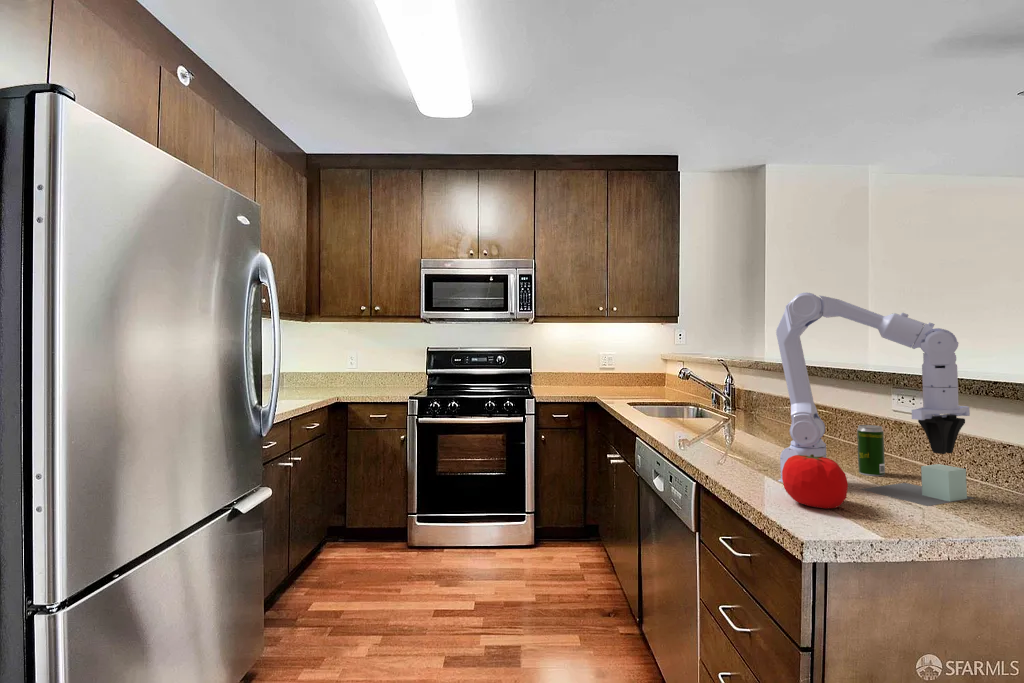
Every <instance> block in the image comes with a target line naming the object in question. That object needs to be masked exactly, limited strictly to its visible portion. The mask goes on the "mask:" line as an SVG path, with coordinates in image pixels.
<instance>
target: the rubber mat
mask: <svg viewBox="0 0 1024 683" xmlns="http://www.w3.org/2000/svg"><path fill="white" fill-rule="evenodd" d="M860 490H861V491H865V492H869V493H874V494H877V495H881V496H886V497H890V498H894V499H897V500H900V501H906V502H910V503H914V504H918V505H922V506H926V507H931V506H937V505H938V506H939V505H944V504H950V503H955V502H961V501H966V500H973V499H974V500H975V497H972V496H968V495H967V499H962V500H956V501H950V502H949V501H945V500H941V499H937V498H932V497H928V496H924V495H922V485H917V484H913V483H908V482H901V483H899V482H898V483H894V484H887V485H885V484H884V485H880V486H879V485H878V486H872V487H866V488H865V487H864V488H860Z"/></svg>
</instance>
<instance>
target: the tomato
mask: <svg viewBox="0 0 1024 683" xmlns="http://www.w3.org/2000/svg"><path fill="white" fill-rule="evenodd" d="M824 456H826V458H825V457H823V456H820V457H814V455H813V454H811V455H810V456H807V455H794V456H792V457H790V458H788V459H787V461H786V462H785V464H784V467H783V470H782V480H783V482H782V484H783V488H784V490H785V492H786V493H787V495H789V497H791V499H792V500H794V501H795V502H797V503H798V504H801V505H805V506H807V507H813V508H819V509H825V510H826V509H835V508H838V507H839V506H841V505H842V504H843V503H844V501H845V500H846V499H847V496H848V495H847V494H848V489H849V488H848V487H849V485H848V484H849V483H848V480H847V479H848V478H847V476H846V473H845V472H844V470H843V469H842V468H841V466H840V465H839V464H838V462H836V461H834V460H833V459H831V458H829V457H827V454H826V455H824Z"/></svg>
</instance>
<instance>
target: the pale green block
mask: <svg viewBox="0 0 1024 683" xmlns="http://www.w3.org/2000/svg"><path fill="white" fill-rule="evenodd" d="M920 467H921V473H920V474H921V486H922V495H924V496H928V497H932V498H937V499H941V500H945V501H949V502H950V501H956V500H962V499H967V496H968V492H967V491H968V488H967V468H962V467H957V466H951V465H947V464H940V463H937V464H936V463H935V464H930V465H921V466H920ZM962 501H963V500H962ZM956 502H957V501H956ZM950 503H951V502H950Z"/></svg>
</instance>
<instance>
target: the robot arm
mask: <svg viewBox="0 0 1024 683" xmlns="http://www.w3.org/2000/svg"><path fill="white" fill-rule="evenodd" d="M823 317H824V318H838V317H841V318H843V319H846V320H849V321H853V322H856V323H858V324H862V325H865V326H867V327H870V328H873V329H877V330H878V332H879V335H880V337H881V338H882V339H885V340H888V341H891V342H894V343H896V344H898V345H899V344H900V345H902V346H904V347H908V348H910V349H913V350H915V349H918V348H920V349H921V350H922V352H923V353H922V355H923V356H922V358H923V360H922V362H923V363H922V365H921V373H922V374H921V376H922V407H919V408H916V409H915V408H914V409H911V420H917V421H918V424H919V425H920V426H921V428H922V430H923V431H924V432H925V435H926V437H927V439H928V442H929V445H930V449H931V450H932V453H934V454H939V455H946V454H953V452H954V448H955V445H956V440H957V437H958V435H959V433H960V431H961V430H962V428H963V426H964V425H966V424H965V423H966V418H964V417H970V414H971V410H970V406H964V405H959V404H960V403H959V381H958V380H959V378H958V374H959V373H958V364H957V363H956V361H957V355H956V353H955V352H956V351H957V349H958V348H959V341H958V339H957V337H956V336H955V334H954V333H953V332H951V331H950V330H947V329H946V328H945V329H944V328H939V327H937V328H934V327H935V323H932V322H928V323H926V322H923V321H919V320H916V319H915V318H914V319H913V318H911V317H909V314H908V313H904V312H901V313H900V314H898V313H896V312H894V313H891V314H887V315H883V314H879V313H876V312H874V311H871V310H869V309H865V308H863V307H860V306H858V305H855V304H852V303H851V302H850V303H849V302H847V301H844V300H842V299H838V298H835V297H834V298H833V297H829V296H826V295H825V296H824V295H818V296H817V295H816V294H814V293H811V292H801V293H798V294H796V295H795V296H794V297H793V298H792V299H791V300H790V301H789V302H788V303H787V304H786V305H785V308H784V311H783V314H782V316H781V319H780V321H779V322H778V325H777V328H776V330H775V331H776V332H775V334H776V339H777V344H778V349H779V353H780V357H781V363H782V368H783V372H784V374H783V375H784V378H785V382H786V387H787V393H788V397H789V402H790V418H791V423H790V424H791V425H790V427H789V435H790V437H791V438H790V439H792V440H791V441H790V445H789V447H784V449H783V450H782V451H781V453H780V457H779V458H780V459H779V460H780V462H779V463H780V464H779V465H780V479H778V480H777V482H780V483H783V480H782V470H783V467H784V464H785V462H786V461H787V459H788V458H790V457H792V456H794V455H807V456H810V455H811V454H813V455H814V457H820V456H823V457H825V458H827V443H825V441H823V439H822V437H823V436H824V435H825V432H826V424H825V422H824V421H823V419H821V417H820V415H819V413H818V409H817V407H816V405H815V401H814V397H813V393H812V388H811V383H810V380H809V379H810V378H809V373H808V370H807V369H808V368H807V364H806V360H805V354H804V350H803V345H802V340H801V336H802V334H803V333H805V331H806V330H807V329H808V327H809V326H810V325H812V324H814V323H816V322H817V321H819V320H820V319H821V318H823ZM963 416H964V417H963ZM824 455H826V456H824Z"/></svg>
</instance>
